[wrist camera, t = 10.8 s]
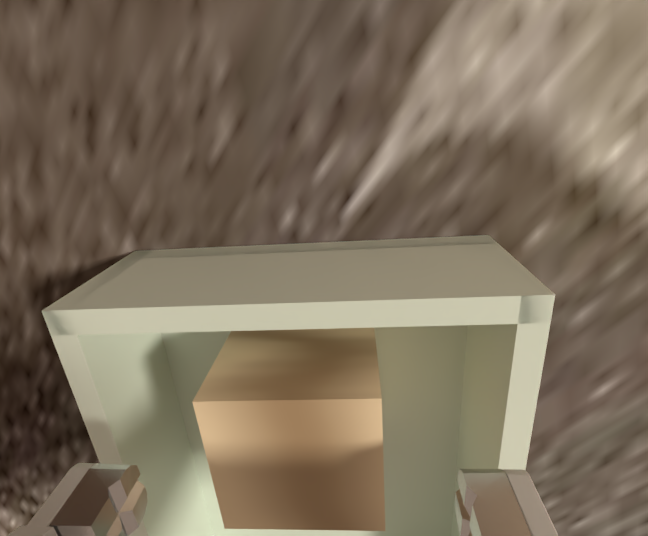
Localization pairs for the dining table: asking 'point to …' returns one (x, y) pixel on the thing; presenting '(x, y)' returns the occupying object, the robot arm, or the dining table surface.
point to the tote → (312, 313)
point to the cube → (295, 430)
